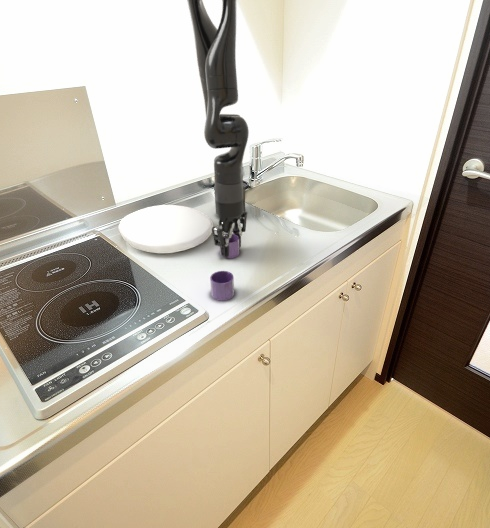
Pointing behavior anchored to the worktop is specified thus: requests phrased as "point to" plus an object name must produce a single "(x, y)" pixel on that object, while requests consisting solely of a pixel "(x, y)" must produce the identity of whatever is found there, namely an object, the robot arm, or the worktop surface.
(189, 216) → the plate
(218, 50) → the robot arm
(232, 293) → the ramekin
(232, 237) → the ramekin
